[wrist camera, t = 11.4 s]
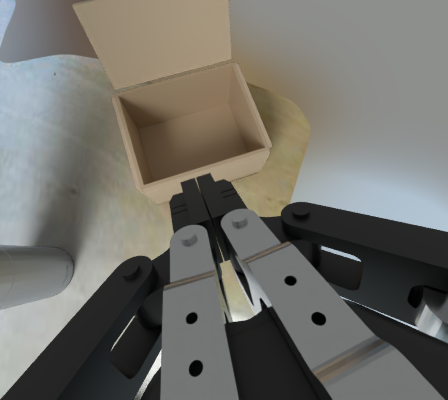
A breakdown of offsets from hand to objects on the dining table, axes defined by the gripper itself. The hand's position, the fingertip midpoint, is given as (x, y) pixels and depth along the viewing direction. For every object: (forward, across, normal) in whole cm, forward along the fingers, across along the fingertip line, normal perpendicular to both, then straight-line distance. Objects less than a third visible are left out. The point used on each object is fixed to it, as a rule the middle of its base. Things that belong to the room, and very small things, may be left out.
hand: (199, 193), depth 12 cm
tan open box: (+40, -3, +13) cm, 43 cm away
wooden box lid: (+36, -3, -8) cm, 37 cm away
